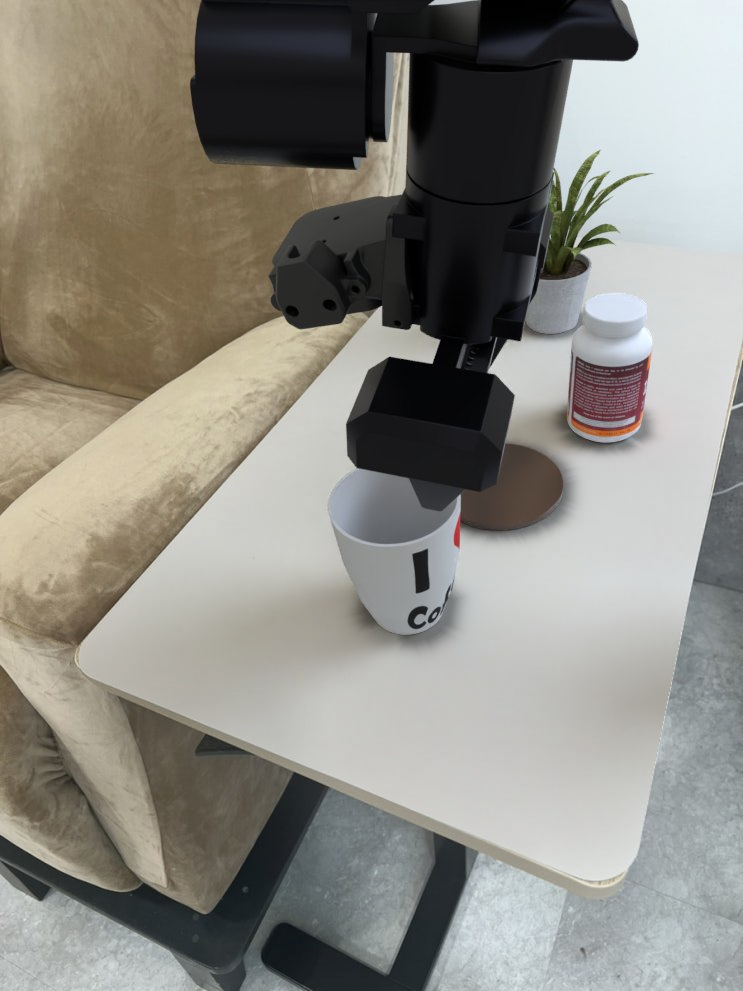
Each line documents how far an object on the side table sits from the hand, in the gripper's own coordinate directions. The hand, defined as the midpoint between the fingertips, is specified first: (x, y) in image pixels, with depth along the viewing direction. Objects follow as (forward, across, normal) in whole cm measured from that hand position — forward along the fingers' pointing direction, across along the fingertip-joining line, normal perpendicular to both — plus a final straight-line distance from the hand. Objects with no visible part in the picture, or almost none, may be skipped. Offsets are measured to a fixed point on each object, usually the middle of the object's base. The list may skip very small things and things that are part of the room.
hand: (449, 444), depth 42 cm
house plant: (+19, -39, +6) cm, 44 cm away
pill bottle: (+16, -21, +10) cm, 29 cm away
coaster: (+16, -12, +3) cm, 20 cm away
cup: (+15, +1, -2) cm, 16 cm away
